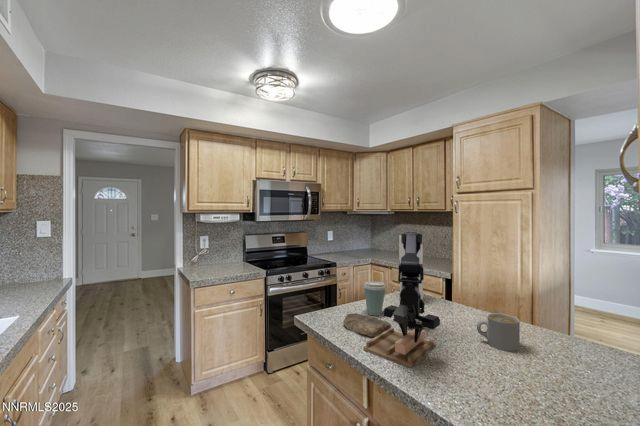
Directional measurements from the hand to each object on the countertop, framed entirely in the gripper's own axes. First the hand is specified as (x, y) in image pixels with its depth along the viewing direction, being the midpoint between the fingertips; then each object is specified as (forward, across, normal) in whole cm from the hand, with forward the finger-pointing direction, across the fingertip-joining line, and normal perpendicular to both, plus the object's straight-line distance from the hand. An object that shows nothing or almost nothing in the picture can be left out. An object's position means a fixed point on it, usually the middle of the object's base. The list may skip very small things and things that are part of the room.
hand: (410, 340), depth 104 cm
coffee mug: (+4, +21, +27) cm, 34 cm away
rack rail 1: (+4, -12, 0) cm, 13 cm away
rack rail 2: (+4, +4, 0) cm, 6 cm away
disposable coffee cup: (+4, -30, +24) cm, 39 cm away
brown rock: (+5, -24, +6) cm, 26 cm away
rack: (+4, -4, 0) cm, 6 cm away
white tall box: (+4, -26, +53) cm, 59 cm away
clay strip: (+2, 0, 0) cm, 2 cm away
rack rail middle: (+4, -4, 0) cm, 6 cm away
